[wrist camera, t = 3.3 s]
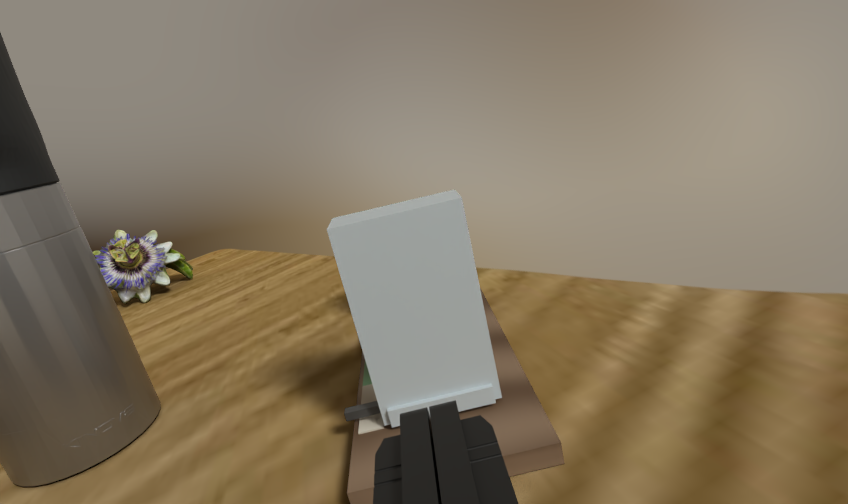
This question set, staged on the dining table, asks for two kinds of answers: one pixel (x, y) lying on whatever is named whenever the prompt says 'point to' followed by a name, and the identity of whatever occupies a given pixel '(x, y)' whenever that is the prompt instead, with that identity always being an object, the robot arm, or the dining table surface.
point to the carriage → (416, 306)
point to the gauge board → (510, 417)
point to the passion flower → (138, 264)
